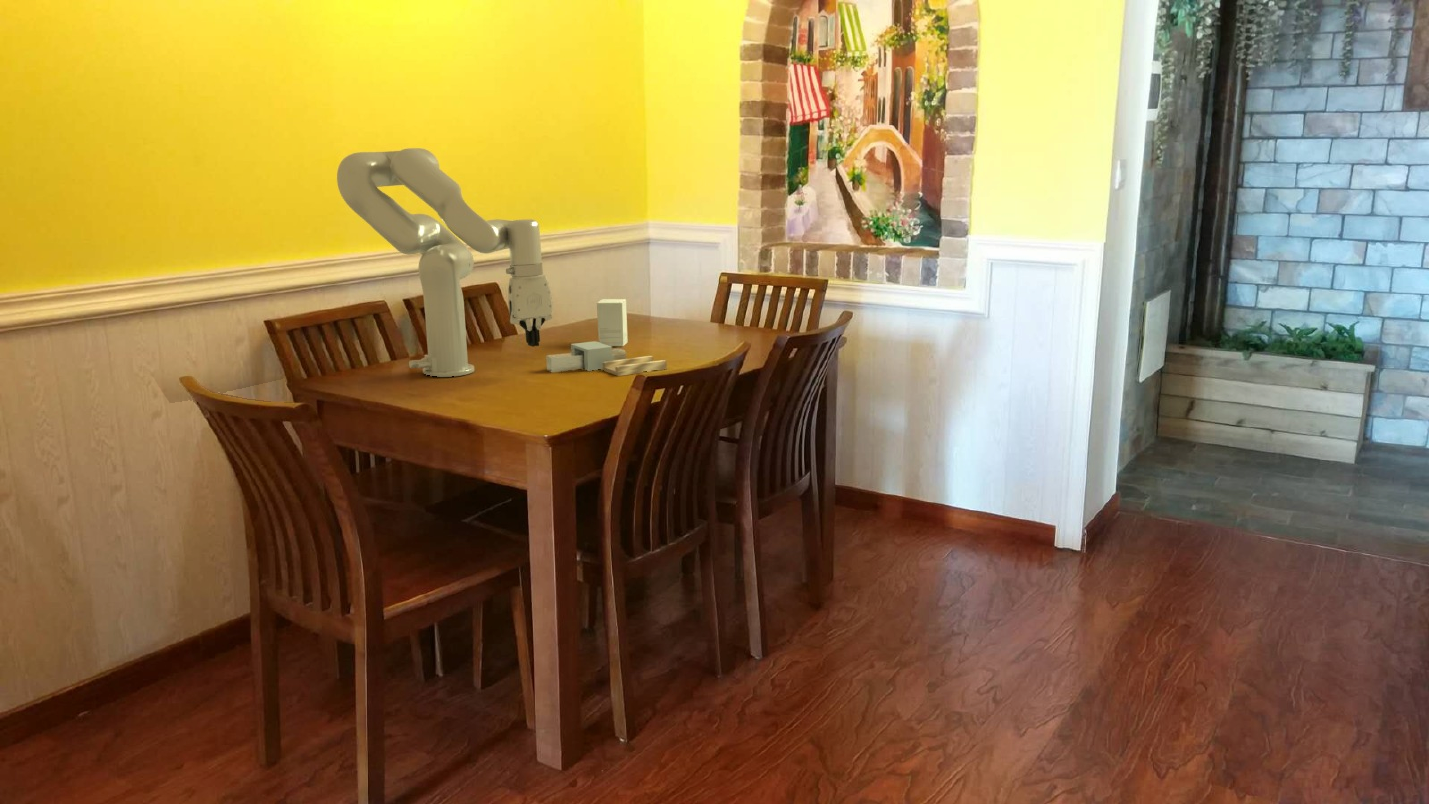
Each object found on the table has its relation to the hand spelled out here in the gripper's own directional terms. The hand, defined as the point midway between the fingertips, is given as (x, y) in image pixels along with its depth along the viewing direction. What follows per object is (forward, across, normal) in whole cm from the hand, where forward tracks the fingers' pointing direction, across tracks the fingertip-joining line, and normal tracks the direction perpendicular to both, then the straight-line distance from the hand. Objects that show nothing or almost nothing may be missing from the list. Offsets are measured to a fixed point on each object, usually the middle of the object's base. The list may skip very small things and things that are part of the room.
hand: (533, 345), depth 256 cm
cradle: (+8, +23, -9) cm, 26 cm away
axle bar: (+8, +14, +1) cm, 17 cm away
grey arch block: (+8, +16, +1) cm, 18 cm away
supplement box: (+8, +35, +25) cm, 44 cm away
